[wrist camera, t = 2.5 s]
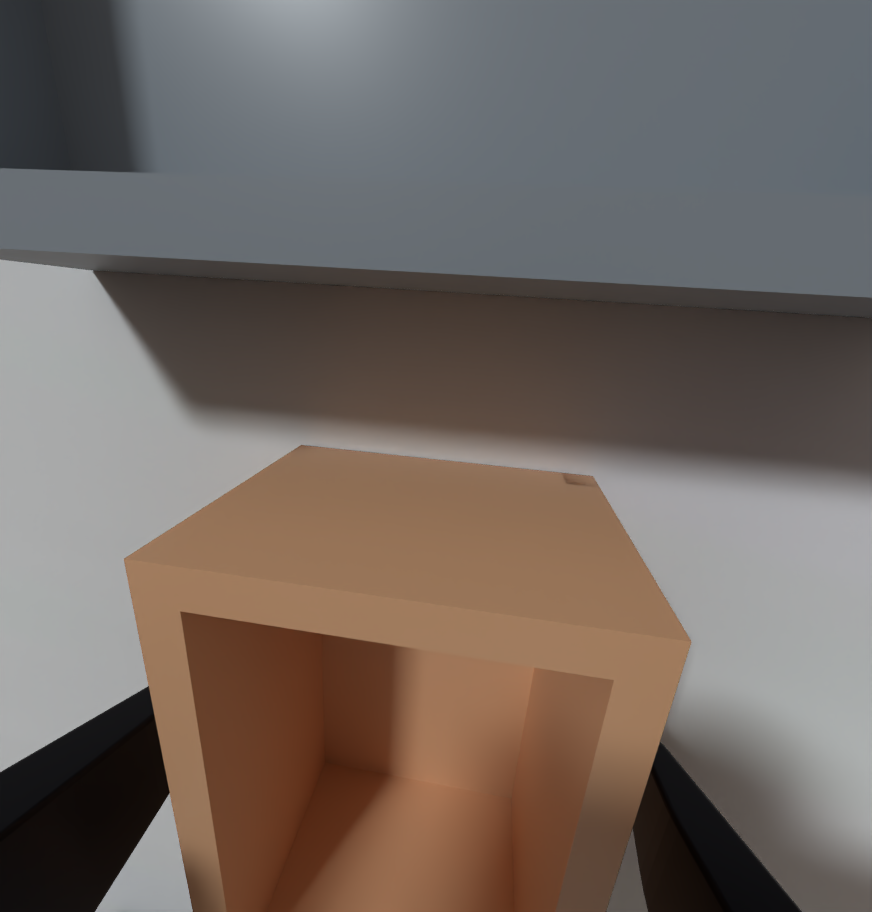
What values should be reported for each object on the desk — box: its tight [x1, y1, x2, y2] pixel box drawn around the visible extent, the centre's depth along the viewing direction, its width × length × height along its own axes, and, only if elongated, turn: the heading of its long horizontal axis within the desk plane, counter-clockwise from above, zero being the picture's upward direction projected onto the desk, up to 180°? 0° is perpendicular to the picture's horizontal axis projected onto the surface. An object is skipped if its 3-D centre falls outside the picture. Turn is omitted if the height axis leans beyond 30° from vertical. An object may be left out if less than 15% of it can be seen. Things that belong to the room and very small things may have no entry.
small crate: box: [124, 445, 691, 912], centre depth 8 cm, size 6×9×4 cm, turn 176°
